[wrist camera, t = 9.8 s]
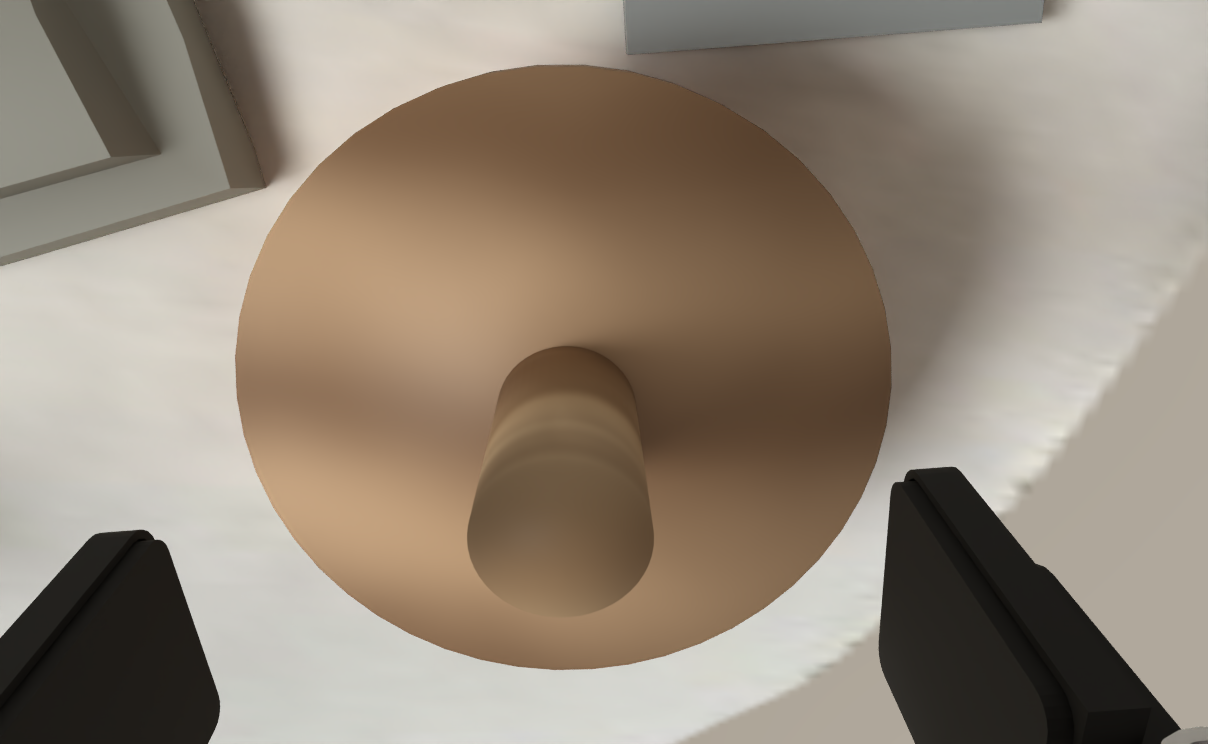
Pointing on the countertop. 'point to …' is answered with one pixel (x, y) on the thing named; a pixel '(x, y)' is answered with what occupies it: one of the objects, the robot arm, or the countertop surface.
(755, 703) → the countertop surface
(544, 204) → the lid
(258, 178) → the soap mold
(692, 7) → the mat
